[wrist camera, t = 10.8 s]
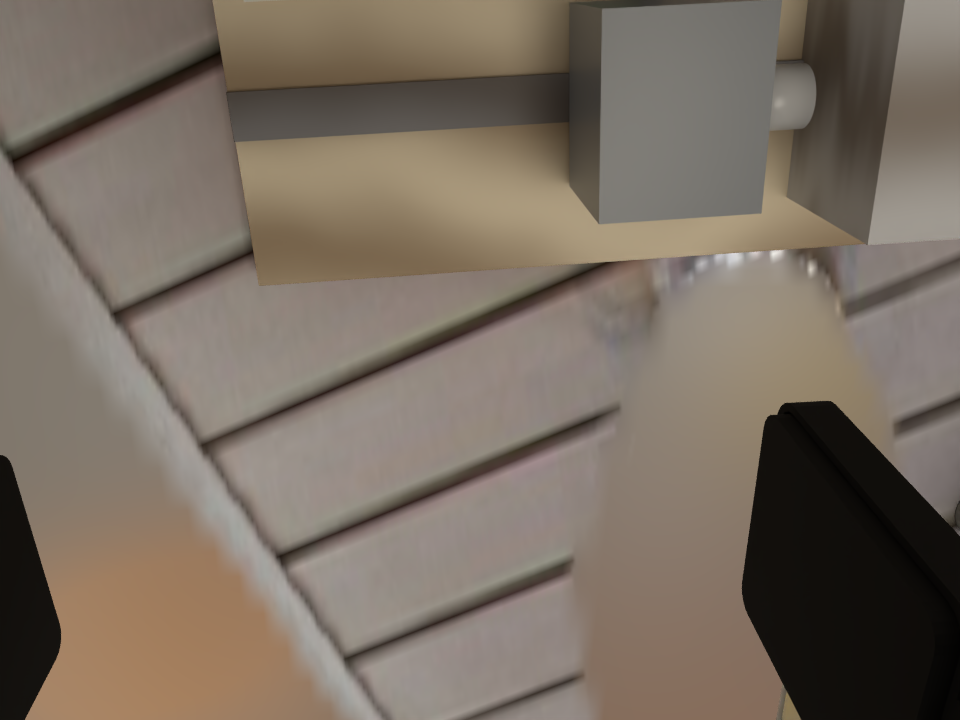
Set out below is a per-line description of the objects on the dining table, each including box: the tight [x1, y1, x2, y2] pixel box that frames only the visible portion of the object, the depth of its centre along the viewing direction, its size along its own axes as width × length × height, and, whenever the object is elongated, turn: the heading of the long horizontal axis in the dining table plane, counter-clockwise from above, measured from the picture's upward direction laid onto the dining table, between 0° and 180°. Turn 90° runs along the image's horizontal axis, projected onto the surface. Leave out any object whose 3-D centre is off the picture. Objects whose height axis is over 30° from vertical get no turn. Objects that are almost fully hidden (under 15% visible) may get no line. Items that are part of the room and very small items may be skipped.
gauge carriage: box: [569, 0, 816, 224], centre depth 26 cm, size 9×7×5 cm
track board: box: [212, 0, 960, 286], centre depth 27 cm, size 12×24×8 cm, turn 92°
